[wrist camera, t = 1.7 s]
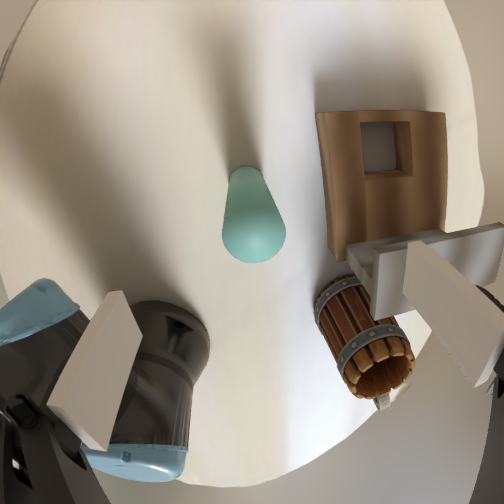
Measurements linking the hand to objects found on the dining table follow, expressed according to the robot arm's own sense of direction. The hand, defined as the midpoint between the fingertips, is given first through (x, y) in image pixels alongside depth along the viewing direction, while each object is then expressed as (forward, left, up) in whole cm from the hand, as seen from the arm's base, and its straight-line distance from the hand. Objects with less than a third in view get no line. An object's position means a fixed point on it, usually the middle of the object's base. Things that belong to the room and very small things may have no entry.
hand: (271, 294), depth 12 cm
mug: (+12, -22, -23) cm, 34 cm away
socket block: (+17, -2, -23) cm, 28 cm away
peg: (0, 0, -23) cm, 23 cm away
